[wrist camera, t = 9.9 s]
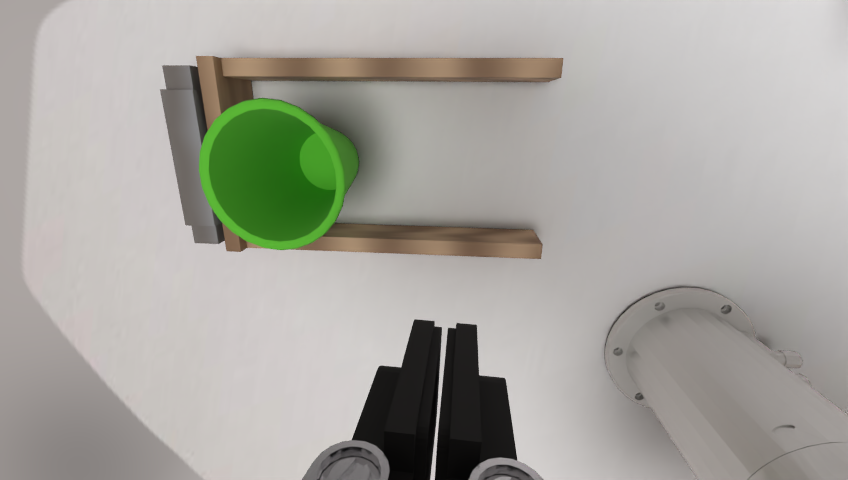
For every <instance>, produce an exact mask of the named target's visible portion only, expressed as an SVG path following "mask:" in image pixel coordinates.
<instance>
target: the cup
mask: <svg viewBox="0 0 848 480" xmlns="http://www.w3.org/2000/svg"><path fill="white" fill-rule="evenodd" d="M358 167H359V159H358V154H357V151H356V149H355V147H354V145H353V143H352V142H351V141H350V140H349V139H348V138H347V137H346V136H345V135H343V134H342V133H340V132H338V131H336V130H334V129H332V128H330V127H327V126H325V125H323V124H321V123H319V122H318V121H317V120H316V119H315V118H314V117H312V116H311V115H310V114H308V113H307V112H305V111H304V110H302V109H301V108H299V107H297V106H295V105H292V104H289V103H287V102H284V101H282V100H275V99H267V98H258V99H252V100H245V101H242V102H240V103H238V104H236V105H234V106H231V107H229V108H228V109H226V110H225V111H224V112H223V113H222V114H221V115H220V116H219V117H217V118H216V119H215V120H214V122H213V124H212V125H211V127H210V128H209V130H208V131H207V133H206V135H205V137H204V140H203V143H202V146H201V150H200V157H199V173H200V179H201V185H202V189H203V191H204V193H205V196H206V198H207V201H208V203H209V205H210V207H211V208H212V210H213V211H214V212H215V214H216V215H217V217H218V218H219V220H220V221H221V222H222V223H223V224H224V225H225V226H226V227H227V228H229V229H230V230H231V231H232V232H233V233H235V234H236V235H238V236H239V237H241V238H242V239H244V240H245V241H247V242H250V243H253V244H255V245H258V246H260V247H263V248H269V249H277V250H287V249H297V248H300V247H303V246H305V245H308V244H311V243H313V242H314V241H316V240H317V239H319V238H320V237H321V236H323V235H324V234H326V232H327V231H328V230H329V229H330V228H331V226H332V225H333V224H334V223H335V221H336V220H337V217H338V215H339V213H340V211H341V209H342V206H343V202H344V196H345V194H346V192H347V191H348V189H349V187H350V186H351V184H352V182H353V181H354V179H355V177H356V174H357V172H358Z"/></svg>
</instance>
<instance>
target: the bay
mask: <svg viewBox="0 0 848 480" xmlns="http://www.w3.org/2000/svg"><path fill="white" fill-rule="evenodd" d="M196 59H197V66H198V67H195V66H163V72H164V77H165V83H166V88H167V90H163V89H160V91H161V97H162V102H163V107H164V113H165V118H166V123H167V129H168V134H169V139H170V145H171V150H172V155H173V161H174V166H175V171H176V177H177V182H178V187H179V193H180V198H181V203H182V209H183V214H184V219H185V225H192V230H193V236H194V241H195V243H209V244H219V243H221V242H223V241H225V244H226V250H227V251H236V252H241V251H243V250H244V249H246V248H263V247H260V246H258V245H255V244H253V243H250V242H247V241H245V240H244V239H242V238H241V237H239V236H238V235H236V234H235V233H233V232H232V231H231V230H230V229H229V228H227V227H226V226H225V225H224V224H223V223H222V222H221V221H220V220H219V218H218V217H217V215H216V214H215V212H214V211H213V210H212V208H211V207H210V205H209V203H208V201H207V198H206V196H205V193H204V191H203V189H202V185H201V179H200V173H199V157H200V150H201V146H202V143H203V140H204V137H205V135H206V133H207V131H208V130H209V128H210V127H211V125H212V124H213V122H214V120H215V119H216V118H217V117H219V116H220V115H221V114H222V113H223V112H224V111H225V110H226V109H228V108H229V107H231V106H234V105H236V104H238V103H240V102H242V101H245V100H252V99H253V92H252V84H251V81H444V82H550V81H553V80H555V79H558V78H561V74H562V65H563V58H218V57H214V56H196ZM542 245H543V244H542V243H541V241H540V240H539V238H538V237H537V235H536V234H535V232H534V230H524V229H493V228H463V227H432V226H402V225H372V224H341V223H334V224H333V225H332V226H331V228H330V229H329V230H328V231H327V232H326V234H324V235H323V236H321V237H320V238H319V239H317V240H316V241H314V242H313V243H311V244H308V245H305V246H303V247H300V248H297V249H296V250H322V251H348V252H374V253H400V254H426V255H452V256H478V257H504V258H530V259H541V254H542Z"/></svg>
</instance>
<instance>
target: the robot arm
mask: <svg viewBox="0 0 848 480" xmlns="http://www.w3.org/2000/svg"><path fill="white" fill-rule="evenodd" d="M441 335H442V327H434V321H426V320H414V322H413V326H412V330H411V333H410V337H409V341H408V344H407V348H406V352H405V356H404V359H403V363H402V367H401V368H399V367H389V366H379V368H378V370H377V372H376V375H375V378H374V381H373V383H372V386H371V389H370V392H369V394H368V397H367V400H366V402H365V405H364V408H363V411H362V413H361V416H360V419H359V422H358V424H357V427H356V430H355V433H354V435H353V438H352V440H351V441H344V442H340V443H338V444H335V445H333V446H330V447H329V448H328V449H326V450H325V451H323V452H322V453H321V454H320V455H319V456H318V457H317V458H316V459H315V461H314V462H313V463H312V465H311V466H310V468H309V469H308V471H307V473H306V474H305V476H304V477H303V479H302V480H430V475H431V465H432V456H433V446H434V437H435V428H436V417H437V402H438V385H439V368H440V351H441ZM605 361H606V365H607V370H608V372H609V374H610V376H611V378H612V380H613V381H614V383H615V384H616V386H617V387H618V389H619V390H620V391H621V392H622V393H623V394H624V395H625V396H626V397H628V398H629V399H631V400H632V401H634V402H636V403H638V404H640V405H643V406H645V407H648V408H651V409H652V410H653V412H654V413H655V415H656V416H657V418H658V420H659V421H660V423H661V424H662V426H663V427H664V429H665V430H666V432H667V433H668V435H669V436H670V438H671V439H672V441H673V442H674V444H675V445H676V447H677V449H678V450H679V452H680V453H681V455H682V456H683V458H684V459H685V461H686V462H687V464H688V465H689V467H690V468H691V470H692V471H693V473H694V474H695V476H696V478H697V479H698V480H848V415H847V414H846V413H845V412H843V411H842V410H841V409H839V408H838V407H837V406H835V405H834V404H833V403H832V402H830V401H829V400H828V399H826V398H825V397H824V396H823V395H821V394H820V393H819V392H817V391H816V390H815V389H814V388H812V387H811V384H810V382H809V380H808V379H807V378H806V377H805V376H803V375H801V374H794V373H793V372H792V371H790V370H789V369H788V368H800V367H801V366H802V362H803V360H802V357H801V356H800V355H799V353H797V352H795V351H772V350H771V349H769V348H768V347H767V346H765V345H764V344H763V343H761V342H760V341H759V340H757V339H756V336H755V331H754V328H753V326H752V323H751V321H750V319H749V318H748V317H747V315H746V314H745V312H744V311H743V310H741V309H740V308H739V307H738V306H737V305H736V304H735V303H733V302H732V301H730V300H729V299H727V298H725V297H724V296H722V295H720V294H717V293H715V292H713V291H709V290H704V289H700V288H685V287H683V288H675V289H668V290H665V291H661V292H657V293H654V294H652V295H650V296H648V297H646V298H644V299H642V300H640V301H639V302H637V303H636V304H634V305H633V306H631V307H630V308H629V309H628V310H627V311H626V312H624V313H623V314H622V315H621V316H620V318H619V319H618V320H617V322H616V323H615V324H614V326H613V327H612V329H611V332H610V334H609V336H608V339H607V343H606V347H605ZM435 480H543V479H542V478H541V476H540V475H539V474H538V473H537V472H536V471H535V470H533V469H532V468H530V467H529V466H527V465H526V464H524V463H521V462H519V461H517V455H516V448H515V441H514V434H513V427H512V421H511V414H510V407H509V400H508V393H507V386H506V380H505V378H499V377H489V376H479V367H478V343H477V325H471V324H460V323H457V324H456V329H455V328H448V335H447V345H446V356H445V366H444V376H443V387H442V397H441V408H440V418H439V429H438V441H437V456H436V472H435Z"/></svg>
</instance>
